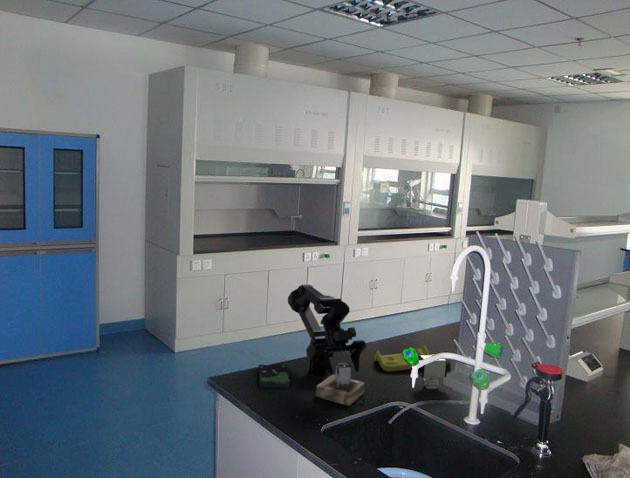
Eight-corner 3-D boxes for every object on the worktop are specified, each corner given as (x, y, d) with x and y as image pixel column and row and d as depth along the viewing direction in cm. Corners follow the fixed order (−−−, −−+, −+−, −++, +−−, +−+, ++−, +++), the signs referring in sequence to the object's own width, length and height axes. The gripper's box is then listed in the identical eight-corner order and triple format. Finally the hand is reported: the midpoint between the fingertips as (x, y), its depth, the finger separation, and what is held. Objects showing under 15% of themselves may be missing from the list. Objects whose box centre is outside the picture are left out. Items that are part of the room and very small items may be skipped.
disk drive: (258, 371, 186) (259, 388, 171) (258, 364, 185) (259, 380, 171) (286, 371, 187) (290, 388, 173) (286, 364, 187) (290, 380, 172)
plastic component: (384, 367, 190) (376, 347, 198) (381, 380, 194) (373, 360, 202) (433, 361, 194) (423, 342, 202) (429, 374, 198) (420, 355, 206)
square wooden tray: (315, 396, 167) (316, 385, 166) (332, 383, 177) (332, 373, 177) (349, 406, 161) (350, 395, 161) (364, 392, 172) (364, 382, 171)
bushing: (331, 392, 170) (333, 363, 169) (344, 390, 173) (346, 362, 171) (338, 399, 166) (341, 369, 164) (352, 396, 168) (354, 367, 167)
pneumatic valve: (448, 390, 178) (452, 357, 176) (416, 390, 176) (419, 357, 174) (442, 383, 183) (445, 351, 182) (411, 383, 181) (414, 351, 180)
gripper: (315, 320, 166) (327, 365, 157) (366, 317, 173) (380, 360, 164) (305, 336, 174) (315, 380, 165) (353, 332, 181) (366, 374, 173)
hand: (345, 373), depth 167 cm, fingers open, 9 cm apart
